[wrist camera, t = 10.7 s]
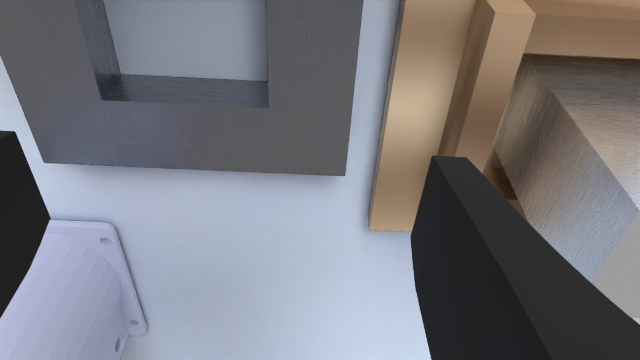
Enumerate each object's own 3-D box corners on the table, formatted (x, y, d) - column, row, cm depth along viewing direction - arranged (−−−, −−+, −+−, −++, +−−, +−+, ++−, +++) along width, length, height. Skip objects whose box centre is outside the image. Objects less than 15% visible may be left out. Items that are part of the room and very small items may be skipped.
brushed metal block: (590, 151, 20) (712, 320, 13) (494, 147, 19) (571, 315, 13) (636, 60, 17) (813, 217, 11) (525, 55, 17) (639, 209, 11)
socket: (343, 147, 21) (345, 176, 19) (65, 134, 21) (43, 162, 19) (377, -209, 13) (384, -208, 12) (-65, -235, 13) (-119, -238, 11)
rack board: (590, 224, 24) (618, 272, 21) (368, 215, 23) (372, 262, 21) (879, -280, 12) (1009, -296, 10) (447, -308, 12) (477, -331, 10)
